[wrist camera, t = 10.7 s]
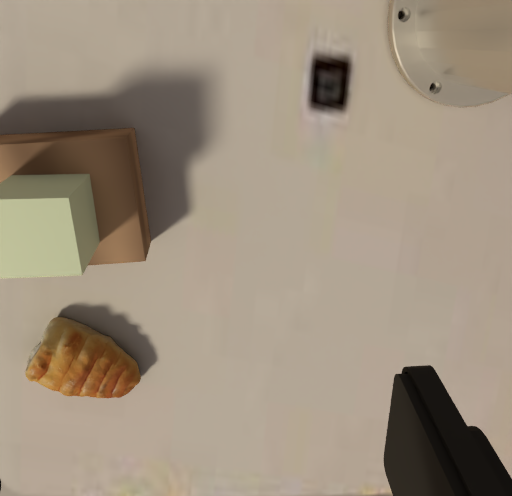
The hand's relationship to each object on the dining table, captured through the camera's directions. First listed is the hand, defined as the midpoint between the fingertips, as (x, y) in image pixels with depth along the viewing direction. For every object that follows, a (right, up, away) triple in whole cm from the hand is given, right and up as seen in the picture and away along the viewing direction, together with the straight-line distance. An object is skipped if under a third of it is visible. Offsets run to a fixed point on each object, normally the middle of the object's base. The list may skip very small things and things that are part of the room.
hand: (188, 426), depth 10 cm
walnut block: (-13, +8, +24) cm, 29 cm away
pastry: (-14, -5, +31) cm, 34 cm away
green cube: (-12, +7, +21) cm, 25 cm away
